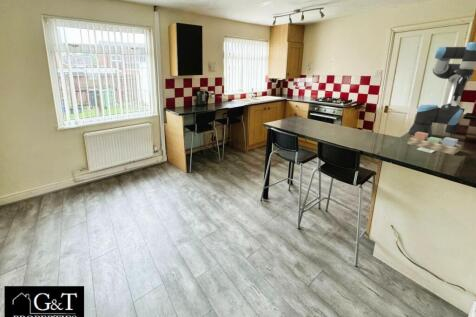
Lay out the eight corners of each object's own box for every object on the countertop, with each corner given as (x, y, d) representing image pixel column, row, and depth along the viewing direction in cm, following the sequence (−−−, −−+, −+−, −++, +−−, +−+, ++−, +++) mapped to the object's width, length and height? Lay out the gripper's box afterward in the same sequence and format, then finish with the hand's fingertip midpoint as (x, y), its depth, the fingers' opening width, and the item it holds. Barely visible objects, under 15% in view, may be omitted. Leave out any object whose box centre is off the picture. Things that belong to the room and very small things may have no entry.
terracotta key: (413, 139, 171) (415, 132, 169) (416, 138, 174) (418, 131, 173) (423, 141, 167) (425, 134, 165) (426, 140, 170) (428, 133, 168)
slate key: (441, 145, 159) (443, 138, 157) (444, 144, 163) (446, 137, 161) (452, 148, 155) (455, 140, 153) (455, 146, 158) (458, 139, 156)
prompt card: (416, 149, 160) (417, 148, 160) (420, 148, 164) (420, 146, 163) (431, 153, 154) (431, 151, 154) (434, 151, 158) (435, 150, 157)
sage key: (425, 145, 166) (428, 138, 164) (429, 143, 169) (431, 136, 167) (436, 147, 161) (438, 140, 160) (439, 146, 165) (442, 138, 163)
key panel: (407, 143, 172) (408, 138, 170) (413, 141, 179) (415, 135, 177) (453, 154, 153) (455, 148, 151) (459, 151, 160) (461, 145, 158)
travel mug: (458, 133, 203) (467, 109, 196) (449, 133, 203) (457, 109, 196) (451, 131, 210) (459, 107, 203) (442, 130, 210) (450, 107, 203)
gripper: (471, 68, 151) (457, 107, 160) (476, 69, 159) (463, 105, 167) (456, 68, 157) (443, 105, 165) (462, 68, 164) (449, 104, 173)
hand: (453, 105), depth 166 cm, fingers closed
